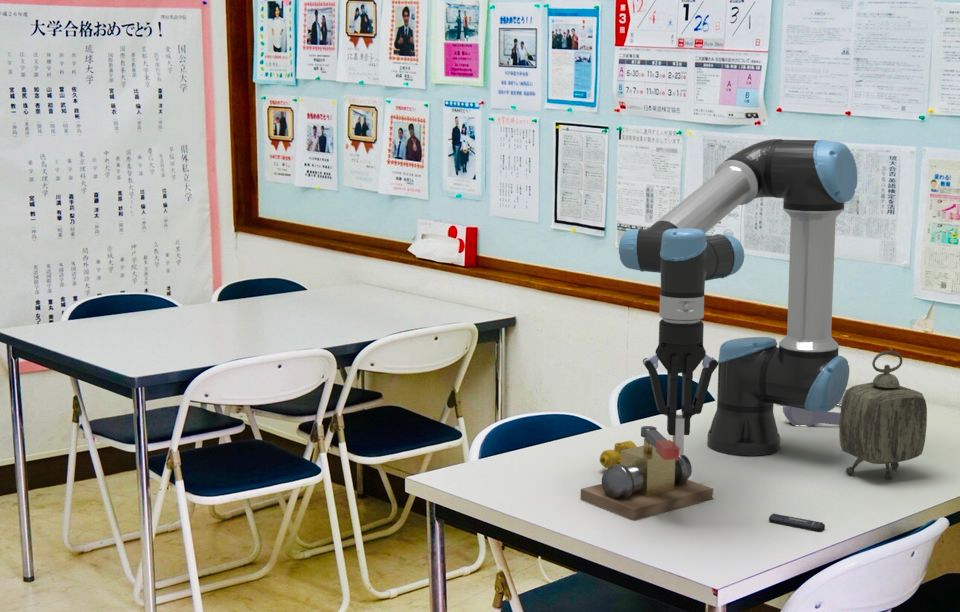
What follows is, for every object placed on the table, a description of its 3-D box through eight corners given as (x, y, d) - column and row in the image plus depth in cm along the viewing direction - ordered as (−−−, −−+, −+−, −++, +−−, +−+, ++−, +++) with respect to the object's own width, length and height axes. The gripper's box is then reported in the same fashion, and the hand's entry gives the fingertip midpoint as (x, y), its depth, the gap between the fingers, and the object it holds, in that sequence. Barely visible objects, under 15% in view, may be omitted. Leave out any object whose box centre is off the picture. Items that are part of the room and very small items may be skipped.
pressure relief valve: (591, 468, 243) (626, 459, 249) (635, 493, 234) (670, 483, 241) (595, 442, 241) (630, 434, 247) (640, 466, 232) (675, 457, 239)
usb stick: (767, 524, 214) (767, 515, 214) (772, 519, 216) (772, 511, 216) (820, 534, 209) (821, 526, 208) (825, 530, 211) (826, 521, 211)
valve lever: (638, 435, 225) (639, 424, 224) (653, 434, 225) (654, 424, 225) (663, 459, 210) (664, 448, 209) (679, 459, 210) (679, 448, 210)
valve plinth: (658, 479, 237) (658, 469, 237) (712, 498, 226) (713, 488, 226) (580, 499, 225) (580, 488, 225) (633, 520, 214) (633, 509, 214)
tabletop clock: (896, 466, 246) (903, 344, 242) (927, 479, 238) (936, 353, 234) (836, 473, 241) (843, 349, 237) (866, 487, 233) (874, 358, 229)
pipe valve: (668, 478, 233) (669, 426, 232) (695, 488, 228) (697, 435, 226) (597, 496, 223) (598, 442, 221) (624, 506, 217) (625, 451, 216)
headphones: (781, 426, 276) (873, 436, 273) (785, 396, 275) (877, 405, 272) (773, 402, 298) (858, 411, 295) (777, 374, 296) (862, 382, 294)
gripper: (647, 323, 205) (644, 459, 209) (724, 323, 206) (719, 458, 210) (640, 315, 213) (637, 447, 217) (714, 315, 213) (710, 446, 217)
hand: (677, 452), depth 213 cm, fingers closed
